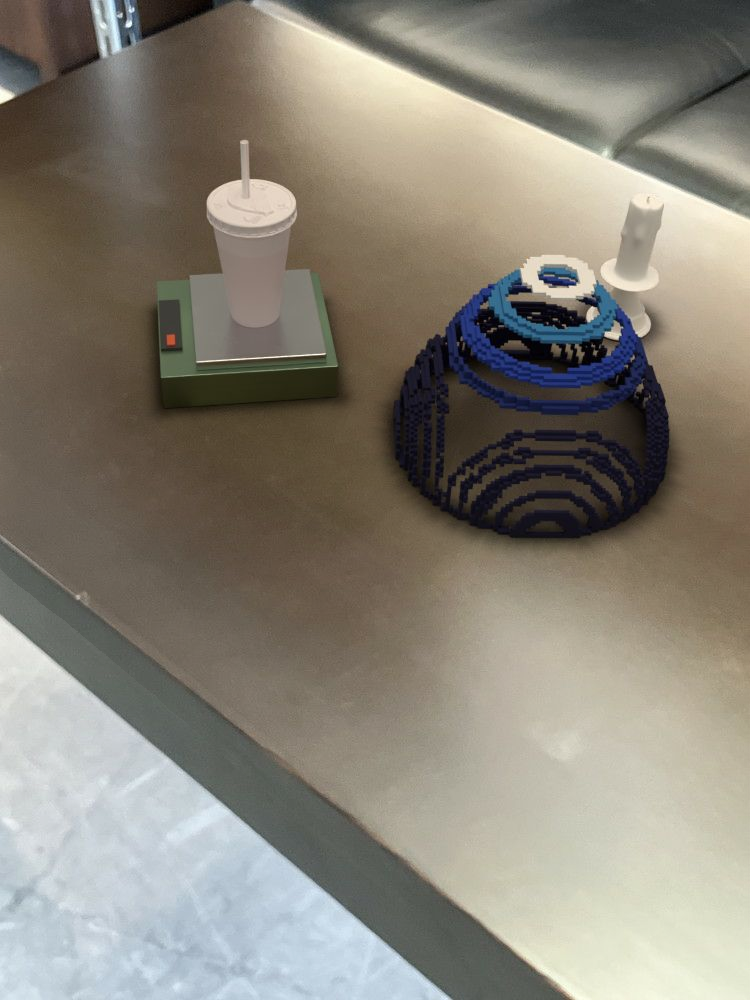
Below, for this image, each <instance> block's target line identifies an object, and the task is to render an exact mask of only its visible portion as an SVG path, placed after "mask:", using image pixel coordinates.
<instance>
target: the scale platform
mask: <svg viewBox="0 0 750 1000" xmlns="http://www.w3.org/2000/svg"><path fill="white" fill-rule="evenodd" d="M310 273H311V270H310V268H300V269H298V268H297V269H285V275H284V283H283V290H282V298H281V305H280V313H279V317H278V319H277V320H276V321H275V322H274V323H272V324H270V325H268V326H265V327H260V328H250V327H245V326H242V325H240V324H238V323H236V322H235V321H234V320H233V318H232V316H231V312H230V307H229V302H228V297H227V292H226V287H225V282H224V278H223V273H202V274H189V275H188V277H189V278H188V280H189V281H190V294H191V306H192V319H193V332H194V345H195V358H196V369H197V370H209V369H224V368H240V367H256V366H272V365H288V364H303V363H319V362H326V361H327V353H326V348H325V343H324V338H323V333H322V328H321V323H320V319H319V314H318V309H317V304H316V299H315V294H314V289H313V284H312V279H311V274H310Z"/></svg>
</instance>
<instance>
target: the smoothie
mask: <svg viewBox="0 0 750 1000" xmlns="http://www.w3.org/2000/svg"><path fill="white" fill-rule="evenodd" d="M239 144H240V145H239V146H240V147H239V149H240V171H241V172H240V173H241V179H237V180H232V181H229V182H225V183H224V184H222V185H220V186H218V187H216V188H215V189H214V190H212V191H211V192H210V193H209V195H208V197H207V200H206V218H207V221H208V222H209V224H210V225H211V226H212V227H213V233H214V238H215V242H216V247H217V252H218V257H219V262H220V267H221V268H220V269H221V272H222V273H223V278H224V282H225V287H226V292H227V297H228V302H229V307H230V312H231V316H232V318H233V320H234V321H235V322H236V323H238V324H240V325H242V326H245V327H250V328H260V327H265V326H268V325H270V324H272V323H274V322H275V321H276V320H277V319H278V317H279V313H280V305H281V298H282V290H283V283H284V275H285V270H286V269H287V259H288V252H289V245H290V240H291V239H290V238H291V230H292V226H293V224H294V223H295V222H296V219H297V217H298V212H297V200H296V198H295V195H294V194H293V192H291V191H290V190H289V189H288V188H287V187H285V186H283V185H282V184H279V183H277V182H273V181H270V180H265V179H257V178H251V177H250V176H251V175H250V149H249V148H250V146H249V140H247V139H242V140H240V142H239Z"/></svg>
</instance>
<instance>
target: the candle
mask: <svg viewBox="0 0 750 1000" xmlns="http://www.w3.org/2000/svg"><path fill="white" fill-rule="evenodd" d="M664 207H665V203H664V201H663V200H662V199H661V198H660V197H658V196H656V195H654V194H651V193H643V192H642V193H640V192H639V193H635V194H634V196H633V197H632V198H631V200H630V201H629V203H628V209H627V212H626V216H625V220H624V223H623V226H622V228H621V231H620V238H621V240H620V244H619V248H618V253H617V257H613V258H611V259H609V260H606V261H605V262H604V263H603V264H602V265H601V267H600V269H599V270H600V275H601V278H602V279H603V280H604V282H606V283H607V284H608V285H609V286H611V287H612V290H610V291H609V293H610V297H611V299H615V300H616V304H618V305H619V308H621V309H622V311H624V312H625V315H627V317H628V318H630V320H631V323H632V326H633V330H635V333H636V334H638V337H641V338H643V337H645V336H646V335H648V333H649V332H650V330H651V327H652V322H651V318H650V317H649V315H648V314H647V313H646V308H645V305H644V303H643V302H642V301H641V300H640V296H639V293H642V292H647V291H650V290H652V289H654V288H655V287H656V286H657V285H659V282H660V275H659V272H658V271H657V270H656V268H654V266H653V265H651V264H650V261H651V258H652V255H653V250H654V247H655V242H656V239H657V234H658V233H659V230H660V229H661V227H662V218H663V212H664ZM597 315H600V313H599V312H598V309H597V307H593V306H590V307H589V308H588V310H587V312H586V315H585V318H586V322H590V321H591V320H594V317H597ZM613 321H614V327H611V328H612V329H611V332H605V335H604V337H603V338H606V339H610V340H614V341H619V336H622V335H621V332H620V331H621V328H623V327H620V324H619V323H617V321H615V320H613Z"/></svg>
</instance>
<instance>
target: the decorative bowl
mask: <svg viewBox="0 0 750 1000" xmlns="http://www.w3.org/2000/svg"><path fill="white" fill-rule="evenodd" d="M545 284H546V285H545ZM519 294H532V296H533V297H545V300H546V299H548V300H549V301H550V302H573V303H575V302H576V301H577V302H579V303H581V304H582V303H583V304H585V306H590V307H592V306H593V307H597V309H598V312H599V313H600V315H597V317H594V320H591V321H590V322H587V319H586V316H582V315H578V310H577V309H576V310H575V309H568V307H567V306H563V305H558V304H557V303H547V302H546V301H533V300H532V301H529V300H526V301H524V300H507V298H509V295H510V296H518V295H519ZM487 302H488V306H487V307H486V308H481V306H484V304H487ZM613 320H615V321H617V323H619V324H620V327H623V328H621V331H620V332H621V335H622V336H619V340H618V342H619V344H616V345H615V346H614V350H611V352H610V355H608V350H609V349H608V348H607V347H605V346H606V345H605V344H603V343H604V338H605V337H604V335H605V332H611V329H612V328H611V327H614V321H613ZM444 330H445V334H444V336H442V335H441V334H439V333H436V334H434V336H433V337H432V338H431V337H430V338H428V340H426V344H425V348H424V349H423V348H422V349H420V351H419V353H417V354H416V355H415V359H414V364H413V366H411V365H410V366H409V368H408V370H405V371H404V377H403V381H402V385H401V386H400V389H399V399H395V400H393V407H392V410H393V411H392V423H393V424H392V425H393V437H394V438H393V439H394V440H393V441H394V456H395V460H399V461H398V462H399V468H403V471H407V481H411V486H412V487H419V493H420V495H423V496H424V498H426V497H427V498H428V500H431V501H432V506H440V511H441V512H448V514H450V515H451V514H452V517H456V519H457V520H468V525H469V526H477V529H492V530H493V532H497V535H509V538H577V539H578V538H581V535H583V536H591V535H592V533H598V532H599V530H609V529H610V527H617V525H618V524H619V525H620V522H626V521H627V519H629V518H630V516H633V514H635V513H640V510H641V507H642V506H643V505H648V504H649V502H650V499H651V498H652V497H654V495H656V494H657V492H658V489H659V487H660V484H661V483H662V481H664V479H665V476H666V469H667V465H668V456H669V454H668V451H669V448H670V433H671V432H670V425H669V423H670V420H669V418H670V416H669V413H668V409H667V405H666V402H667V400H666V397H665V394H664V391H663V388H662V385H661V383H659V382H658V378H657V376H656V372H655V369H654V366H653V364H649V359H648V357H647V354H646V351H645V347H644V344H643V341H642V337H638V334H636V333H635V330H633V326H632V323H631V320H630V318H628V317H627V315H625V312H624V311H622V309H621V308H619V305H618V304H616V300H615V299H611V297H610V291H607V288H605V286H604V284H600V282H599V280H598V279H597V280H596V277H595V272H594V269H590V268H589V265H588V262H584V261H583V259H579V258H578V257H566V255H565V254H541V255H540V256H529V258H526V259H525V263H522V267H520V268H519V269H514V271H511V272H510V273H507V275H504V277H502V278H500V280H497V282H496V283H487V287H481V288H480V289H479V292H478V293H476V294H475V293H473V294H472V297H471V298H469V301H468V302H466V303H465V304H464V305H462V306H461V309H459V310H458V311H455V312H454V316H452V320H449V321H448V326H445V329H444ZM509 341H510V342H513V341H514V342H515V341H517V342H520V343H521V344H523V346H524V347H526V349H502V347H504V346H505V344H509ZM553 344H555V346H557V347H558V349H560V354H559V356H554V355H555V354H554V351H552V347H553ZM567 345H569V349H570V351H572V352H571V353H572V354H571V358H568V356H569V352H568V351H566V350H567ZM576 345H578V347H579V348H580V353H584V354H583V355H582V359H581V362H580V363H579V360H580V357H579V355H577V354H578V347H576ZM463 347H464V348H463ZM594 352H596V354H594ZM471 353H472V354H471ZM517 357H518V358H528V359H529V360H552V362H557V363H558V362H559V365H566V366H567V370H566V372H567V373H552V371H553V370H552V367H544V366H543V367H540V366H539V364H531V361H518V359H517ZM633 357H634V358H633ZM474 359H477V361H481V364H486V366H487V367H490V370H491V372H499V374H500V375H503V376H504V377H507V378H508V380H517V383H529V384H530V385H531V386H538V388H539V389H581V387H587V386H588V387H592V386H593V384H600V383H601V382H604V385H608V387H615V390H614V389H609V390H608V392H601V393H600V395H599V394H597V397H585V400H582V399H581V400H576V399H575V400H573V399H530V398H531V397H530V396H518V395H517V393H509V391H507V390H504V388H496V385H491V382H487V380H486V379H485V380H483V378H482V377H478V373H477V371H476V372H474V370H473V369H469V364H465V363H471V361H473V360H474ZM446 369H450V370H451V369H452V370H453V371H454V374H455V375H458V380H459V385H467V387H468V388H472V390H473V391H474V390H475V391H476V394H477V396H481V399H482V398H483V399H489V401H493V402H494V404H498V408H499V409H502V410H515V412H519V413H520V412H521V413H540V415H541V416H579V413H587V414H595V413H596V414H598V413H599V411H610V408H613V407H614V406H616V405H617V403H624V401H625V400H627V398H628V399H629V402H630V403H633V405H634V408H638V410H639V412H641V413H642V414H643V416H644V419H645V423H646V424H645V426H646V428H645V429H646V430H645V432H646V434H645V437H646V440H645V444H646V445H645V449H644V451H645V455H646V456H647V457H645V460H644V463H643V465H644V468H643V470H642V467H641V465H639V460H636V457H633V454H631V449H630V448H628V447H627V445H621V443H620V442H618V441H617V439H603V434H602V433H600V431H599V430H586V431H585V432H577V430H576V429H534V432H527V431H525V432H523V429H513V432H505V433H504V437H502V438H500V440H496V443H488V444H487V446H483V449H479V450H478V452H474V454H473V455H471V454H470V457H468V458H467V457H466V458H465V460H462V461H461V466H456V472H455V471H454V472H451V474H447V485H446V491H443V489H442V488H439V485H440V479H443V478H444V477H445V476H444V472H445V471H444V469H445V455H441V454H444V453H445V452H446V448H445V446H446V415H449V414H450V402H446V398H449V395H450V393H449V392H450V391H449V390H450V387H449V383H445V378H444V377H445V376H444V375H445V370H446ZM432 375H434V385H435V386H434V387H432V382H431V381H432V380H431V377H432ZM640 385H642V387H643V388H641V391H637V389H638V388H639V386H640ZM420 387H422V388H420ZM436 390H438V391H436ZM423 392H426V395H423ZM415 393H417V394H415ZM635 396H636V397H635ZM645 399H646V400H645ZM644 400H645V401H644ZM434 404H435V406H436V409H435V414H436V415H440V416H436V419H435V420H436V425H435V431H436V433H435V434H436V435H435V459H439V460H438V461H437V460H436V461H435V463H434V483H433V490H432V491H431V490H430V489H429V488H426V481H427V479H430V478H431V473H432V471H431V470H432V442H433V441H432V438H433V437H432V433H433V424H432V422H428V421H432V418H433V410H432V408H433V405H434ZM644 405H645V406H644ZM401 416H404V448H403V443H401V432H402V431H401V430H402V429H401V424H402V418H401ZM419 424H422V436H423V437H422V461H421V474H420V475H421V477H418V476H417V475H418V461H419V460H418V459H419V457H418V456H419ZM523 439H534V442H567V443H569V442H572V443H574V442H575V443H576V441H577V440H585V442H586V443H596V445H597V446H603V447H604V449H607V452H611V454H609V453H599V451H598V450H592V449H591V447H577V450H575V449H574V450H572V449H571V450H569V449H567V450H566V449H531V447H530V446H517V449H513V450H512V455H510V452H500V454H499V455H496V456H495V458H493V457H492V458H491V461H490V462H491V463H483V464H482V465H481V466H478V467H477V474H476V475H475V473H474V472H469V474H468V477H464V480H459V481H460V482H459V492H458V493H459V494H458V506H457V507H454V505H450V503H451V496H452V490H453V489H452V488H453V487H457V476H466V472H467V468H469V470H470V471H471V470H472V471H474V470H475V466H476V465H479V464H480V462H484V459H489V451H496V450H497V448H500V450H502V451H506V450H507V451H510V449H511V448H514V447H515V442H523ZM445 454H446V453H445ZM610 455H611V457H612V458H614V460H615V461H617V463H618V464H620V465H621V466H622V467H623V469H626V471H622V468H618V467H616V465H615V464H614V465H613V462H612V459H610ZM516 456H517V457H519V456H520V457H521V458H517V457H516ZM535 456H536V457H537V456H538V457H573V459H574V460H585V465H586V466H592V468H593V469H595V470H596V472H598V473H599V474H600V475H606V477H608V478H609V480H611V481H612V483H615V485H616V486H618V488H617V489H618V492H620V497H622V500H621V508H623V510H622V509H619V507H617V501H615V499H614V498H613V493H610V491H609V490H607V489H606V487H603V484H602V485H601V484H600V482H598V481H597V479H596V478H595V479H593V474H592V473H590V471H589V470H584V471H583V469H582V467H575V464H546V463H545V464H543V463H542V464H540V463H539V464H537V463H536V464H533V466H525V467H524V469H512V471H511V472H508V473H507V475H499V476H498V478H497V477H496V478H494V480H491V481H490V483H486V484H485V489H480V494H476V495H475V500H471V503H470V508H469V513H463V509H464V504H468V503H469V490H473V489H474V485H483V482H484V481H483V476H487V475H488V473H492V471H496V470H497V465H499V467H500V468H504V467H505V465H526V464H527V460H528V459H529V460H530V459H532V460H533V459H535ZM587 457H591V458H590V459H589V458H587ZM582 472H583V473H582ZM625 473H626V475H629V477H630V478H632V480H633V485H628V480H627V479H625ZM542 474H545V477H563V474H564V479H565V480H575V483H583V486H590V490H589V492H590V494H591V495H593V497H596V499H597V500H599V501H600V503H605V511H607V515H608V517H607V518H606V520H604V521H603V523H602V516H601V515H599V513H598V512H596V511H597V510H596V507H593V504H590V502H589V501H587V499H586V498H583V496H582V495H580V496H579V495H576V492H575V493H573V491H572V490H565V489H564V490H563V489H561V490H555V489H553V490H549V489H541V490H540V489H539V490H538V489H536V490H535V492H527V493H526V495H518V497H517V498H516V497H514V498H513V500H512V501H511V500H509V503H505V504H504V506H500V509H499V511H495V515H494V520H493V521H494V522H484V519H483V517H484V516H487V515H488V514H489V510H493V509H494V505H497V504H498V503H499V499H503V498H504V494H503V492H504V491H507V490H508V488H512V487H513V485H521V482H523V483H524V482H526V483H527V482H529V481H530V480H540V479H542V478H543V476H542ZM644 481H645V482H644ZM632 490H633V492H635V493H634V495H635V497H637V498H636V500H635V501H633V502H632V501H631V499H632V495H633V492H632ZM433 491H434V492H433ZM435 492H437V493H435ZM442 498H445V501H444V502H442ZM544 499H545V500H569V502H570V503H573V505H575V506H576V508H578V509H579V508H580V509H581V508H582V513H583V514H585V515H586V517H588V519H587V522H586V525H587V526H586V525H580V523H581V520H580V518H577V515H574V513H573V512H571V510H569V509H565V510H564V509H534V510H533V512H524V515H523V514H521V515H520V518H519V520H515V524H514V525H511V526H510V525H504V520H505V519H508V518H509V514H510V513H513V512H514V508H522V507H523V505H527V502H533V503H534V502H535V501H536V500H544ZM541 522H555V525H558V527H559V528H561V529H562V530H563V531H528V530H532V528H533V527H536V526H537V525H540V524H541Z"/></svg>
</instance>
